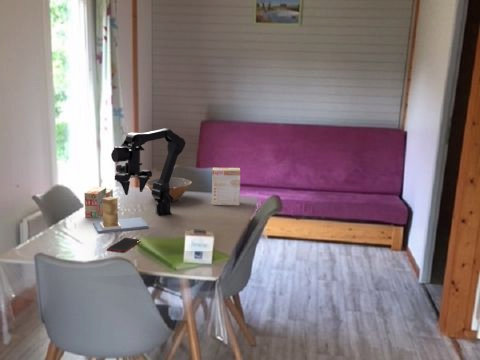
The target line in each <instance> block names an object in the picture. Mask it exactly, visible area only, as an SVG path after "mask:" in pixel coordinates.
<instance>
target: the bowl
mask: <svg viewBox="0 0 480 360" xmlns="http://www.w3.org/2000/svg"><path fill="white" fill-rule="evenodd" d="M159 179H160V177H156V178H153V179H149V180H148V181H147V183H146V186H147V187H148V189H149V191H151V192H152V190H151V189H152V187H153V184H154V182H155V183H157V182H158V181H159ZM191 185H192V181H191V179H187V178H184V177H173V176H172V177H171V178H170V181H169V187H170V191H169V194H170V195H171V196H172V197H173V202H175V201H177V200H179V199H180V198H181V197H182V196H183V195H184V194H185V193H186V192H187V190H188V189H189V188H190V187H191Z"/></svg>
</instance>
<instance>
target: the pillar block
mask: <svg viewBox="0 0 480 360" xmlns="http://www.w3.org/2000/svg"><path fill="white" fill-rule="evenodd" d="M102 203H103V214H102V221H103V226H104V227H111V226H118V219H119V218H118V217H119V215H118V213H119V212H118V210H119V209H118V207H119V206H118V204H119V203H118V197H114V196H113V197H106V198H102Z"/></svg>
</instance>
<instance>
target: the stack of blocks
mask: <svg viewBox="0 0 480 360" xmlns="http://www.w3.org/2000/svg"><path fill="white" fill-rule="evenodd" d="M113 194H114V193H113V189H111V188H110V189H109V188H107V187H101V186H99V187H98V186H94V187H92V188H90V189H89V190H87V191H85V192H84V194H83V195H84V215H85V218H90V217H91V218H92V219H93V218H94V219H99V216H100V217H102V216H103V203H102V198H106V197H114V195H113Z"/></svg>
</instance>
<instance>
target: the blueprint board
mask: <svg viewBox="0 0 480 360" xmlns="http://www.w3.org/2000/svg"><path fill="white" fill-rule="evenodd" d="M92 224H93V226H94V228H95V229H96V232H97V234H105V233H112V232H122V231H130V230H131V231H133V230H141V229H148V228H149V224H147V222H146V221H145V220H144V219H143V218H142V217H141V216H140V217H129V218H120V219H119V218H118V226H111V227H104V226H103V220H101V221H100V220H99V221H93V222H92Z"/></svg>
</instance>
